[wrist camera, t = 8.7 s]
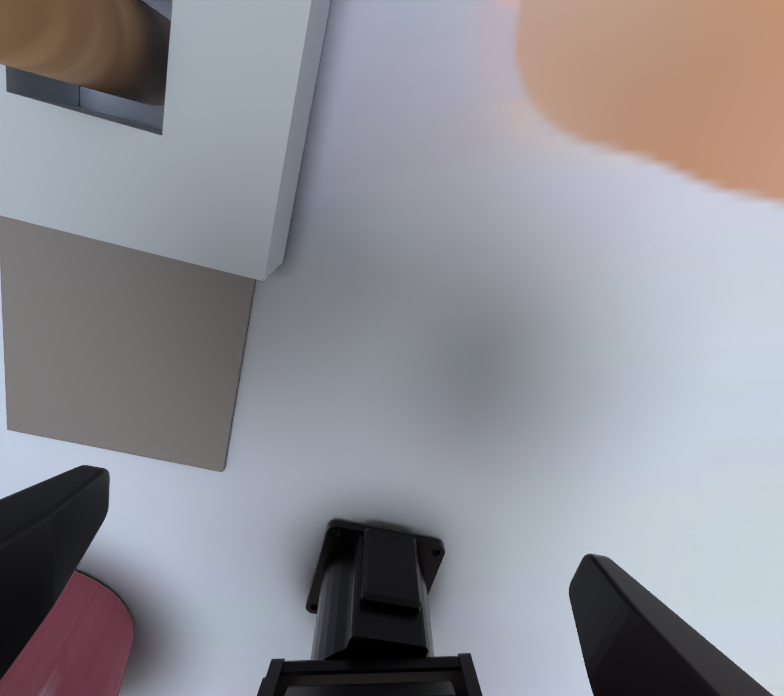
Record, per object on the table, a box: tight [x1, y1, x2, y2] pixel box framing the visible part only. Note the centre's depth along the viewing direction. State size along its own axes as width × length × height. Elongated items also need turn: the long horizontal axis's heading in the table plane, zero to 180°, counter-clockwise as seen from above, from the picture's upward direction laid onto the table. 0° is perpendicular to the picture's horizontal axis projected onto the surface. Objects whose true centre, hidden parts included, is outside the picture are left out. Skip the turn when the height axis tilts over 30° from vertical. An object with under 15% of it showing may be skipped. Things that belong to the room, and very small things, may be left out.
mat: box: [0, 215, 256, 472], centre depth 20 cm, size 14×10×1 cm
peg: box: [0, 0, 171, 105], centre depth 12 cm, size 3×3×9 cm
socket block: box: [0, 0, 331, 281], centre depth 15 cm, size 12×12×4 cm
